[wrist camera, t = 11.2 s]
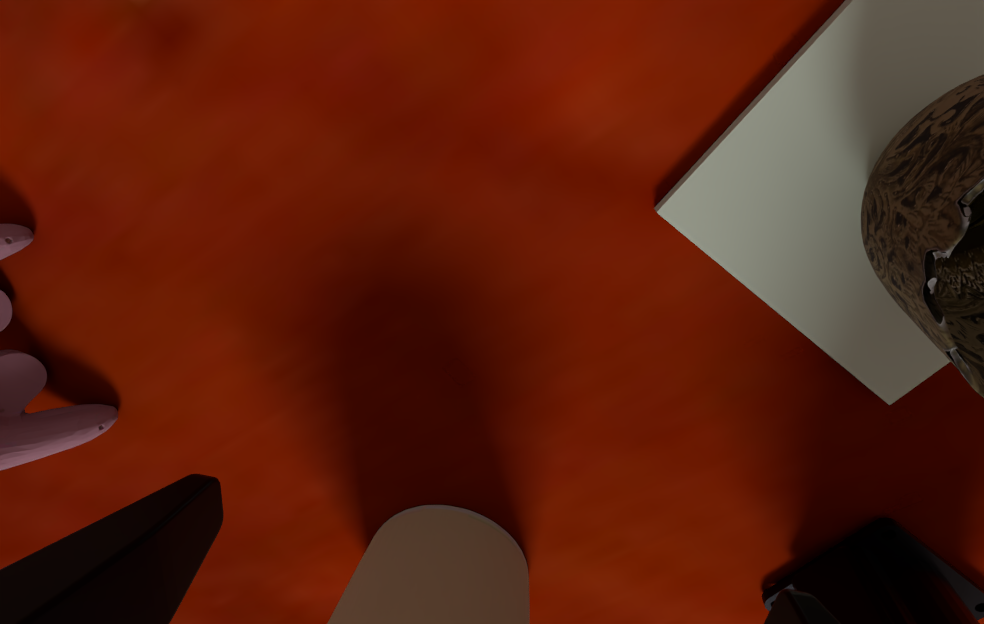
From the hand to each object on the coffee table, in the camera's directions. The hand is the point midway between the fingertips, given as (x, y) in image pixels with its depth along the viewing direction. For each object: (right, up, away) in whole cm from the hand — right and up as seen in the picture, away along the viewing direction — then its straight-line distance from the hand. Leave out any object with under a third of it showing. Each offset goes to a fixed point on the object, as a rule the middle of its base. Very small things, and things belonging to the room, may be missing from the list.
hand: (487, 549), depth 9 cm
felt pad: (+13, +8, +8) cm, 17 cm away
